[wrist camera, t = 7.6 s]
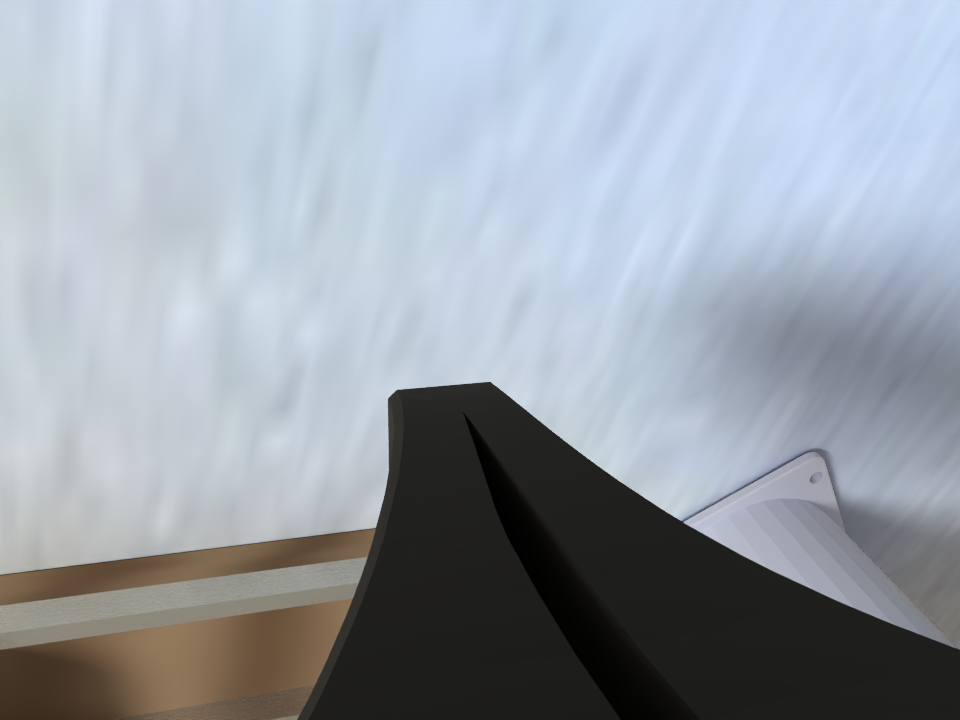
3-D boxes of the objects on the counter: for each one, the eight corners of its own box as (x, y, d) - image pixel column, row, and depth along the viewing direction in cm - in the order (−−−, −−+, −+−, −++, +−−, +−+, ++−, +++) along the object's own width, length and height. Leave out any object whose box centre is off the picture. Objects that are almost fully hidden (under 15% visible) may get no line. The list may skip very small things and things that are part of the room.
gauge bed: (414, 523, 24) (420, 549, 23) (411, 737, 29) (416, 766, 28) (-446, 631, 19) (-486, 670, 18) (-260, 867, 24) (-284, 908, 23)
